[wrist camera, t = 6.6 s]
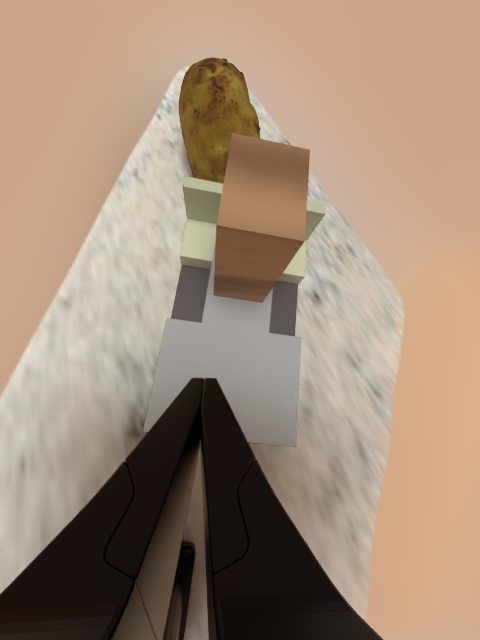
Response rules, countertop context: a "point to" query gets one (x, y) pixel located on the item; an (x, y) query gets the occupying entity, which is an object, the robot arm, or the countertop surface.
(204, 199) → the trap board
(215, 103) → the potato
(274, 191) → the walnut block
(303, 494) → the countertop surface
